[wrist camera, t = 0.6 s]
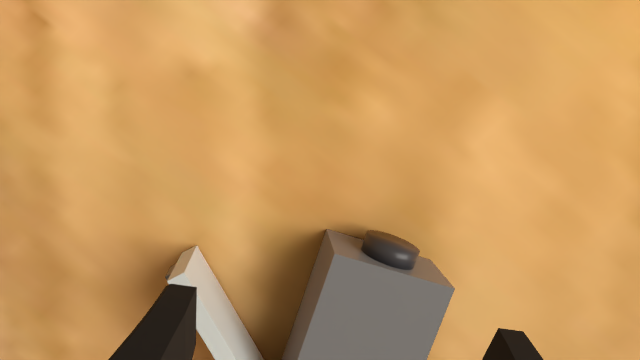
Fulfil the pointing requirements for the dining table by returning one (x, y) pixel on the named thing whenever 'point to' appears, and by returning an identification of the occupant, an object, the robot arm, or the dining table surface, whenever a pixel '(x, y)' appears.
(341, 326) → the camera case
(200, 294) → the side door
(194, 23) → the dining table surface
